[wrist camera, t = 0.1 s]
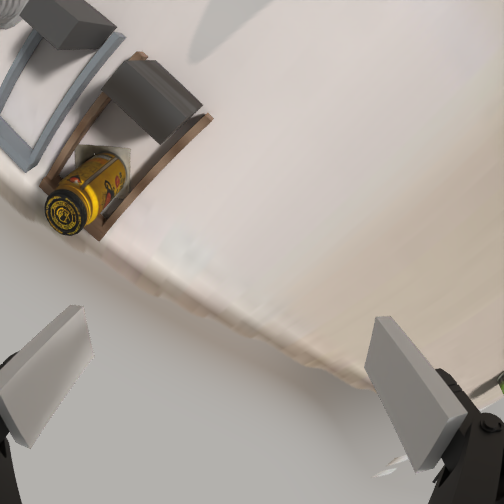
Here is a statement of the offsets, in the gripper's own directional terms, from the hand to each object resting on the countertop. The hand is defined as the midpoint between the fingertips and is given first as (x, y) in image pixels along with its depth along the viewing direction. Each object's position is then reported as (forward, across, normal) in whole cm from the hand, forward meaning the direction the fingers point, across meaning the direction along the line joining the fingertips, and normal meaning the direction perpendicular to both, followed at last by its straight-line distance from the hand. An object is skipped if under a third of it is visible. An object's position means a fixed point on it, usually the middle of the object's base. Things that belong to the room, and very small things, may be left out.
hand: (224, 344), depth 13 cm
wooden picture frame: (+26, -16, +10) cm, 32 cm away
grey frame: (+22, -26, +20) cm, 40 cm away
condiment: (+27, -19, +7) cm, 34 cm away
